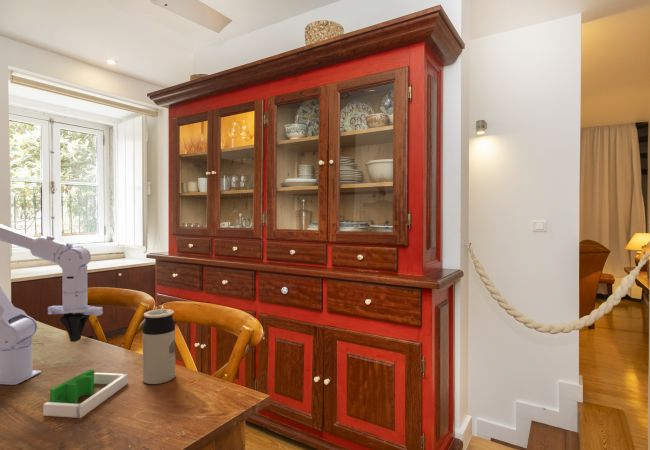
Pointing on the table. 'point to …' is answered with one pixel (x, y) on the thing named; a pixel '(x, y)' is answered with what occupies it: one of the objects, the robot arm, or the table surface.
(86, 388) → the pipe clamp
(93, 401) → the white u-shaped frame
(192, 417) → the table surface
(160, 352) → the travel mug
